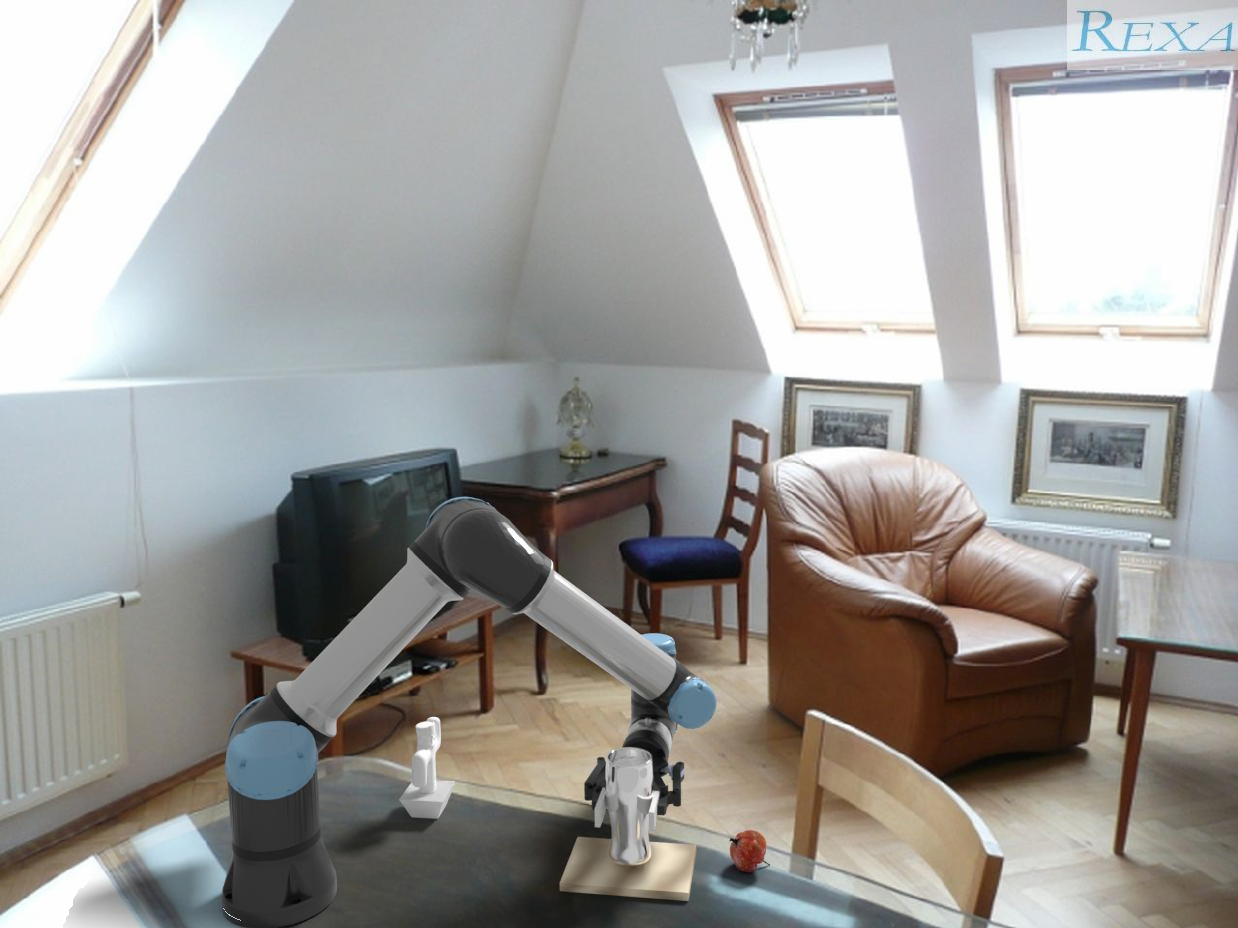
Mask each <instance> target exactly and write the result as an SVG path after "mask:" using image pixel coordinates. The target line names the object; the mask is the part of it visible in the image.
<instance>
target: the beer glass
mask: <svg viewBox="0 0 1238 928" xmlns="http://www.w3.org/2000/svg"><path fill="white" fill-rule="evenodd" d="M605 761H606V770H605V794H606V801H607V812H608V816H609V822H610V828H611V837H610V839H611V844H610V850H609V856H610V859H611V860H612V861H613V862H615V863H617V864H620V865H624V866H636V865H641V864H643V863H645V862H647V861H648V860H649V859H650V858H651V848H650V843H649V842H650V836H649V810H650V806H651V802H652V798H653V795H654V775H653V764H652V755H651V753H650V752H648V751H647V750H644V749H641V748H635V747H624V748H622V747H619V748H618V747H617V748H615V749H613V750H610V751H609V752H608V753H607V754H606V757H605Z"/></svg>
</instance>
